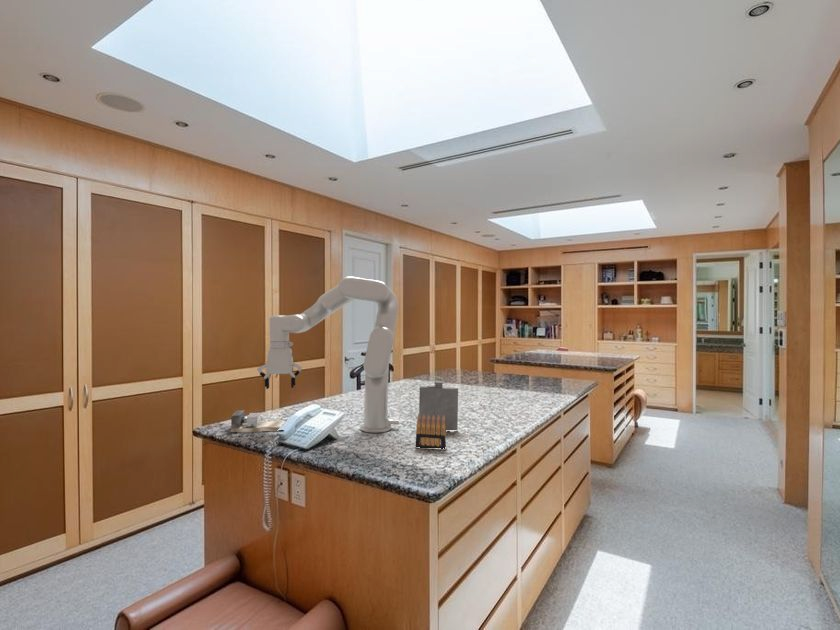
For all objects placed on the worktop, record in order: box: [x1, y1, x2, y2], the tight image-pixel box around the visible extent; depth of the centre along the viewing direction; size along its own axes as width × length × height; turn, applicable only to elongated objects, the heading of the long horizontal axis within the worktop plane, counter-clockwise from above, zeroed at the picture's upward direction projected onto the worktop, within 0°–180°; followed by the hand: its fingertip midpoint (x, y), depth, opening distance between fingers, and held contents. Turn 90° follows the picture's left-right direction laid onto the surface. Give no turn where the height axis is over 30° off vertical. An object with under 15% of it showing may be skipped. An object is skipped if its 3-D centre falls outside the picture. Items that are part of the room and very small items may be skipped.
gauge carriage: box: [241, 412, 262, 428], centre depth 172 cm, size 6×9×4 cm
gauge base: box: [230, 410, 286, 433], centre depth 174 cm, size 20×10×6 cm, turn 101°
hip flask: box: [418, 381, 459, 431], centre depth 177 cm, size 16×4×20 cm, turn 80°
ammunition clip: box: [414, 413, 447, 449], centre depth 153 cm, size 11×2×12 cm, turn 81°
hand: (280, 387), depth 175 cm, fingers open, 9 cm apart
